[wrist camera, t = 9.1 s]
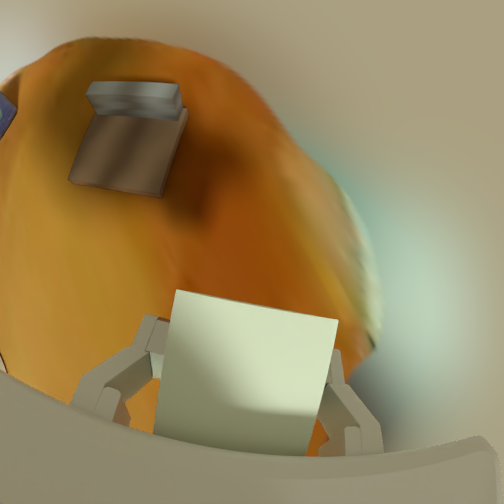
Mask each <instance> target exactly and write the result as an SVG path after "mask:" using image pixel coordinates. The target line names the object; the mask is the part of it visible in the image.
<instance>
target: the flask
mask: <svg viewBox="0 0 504 504" xmlns="http://www.w3.org/2000/svg"><path fill="white" fill-rule="evenodd" d="M16 114H17V108H16V107H15V106H14V105H13V104H12V103H11V102H10V101H9V100H8V98H7V97H5V95H4V94H3V93H2V92H1V91H0V140H1V139H2V137H3V135H4V133H5V132H6V131H7V129H8V127H9V126H10V124H11V122H12V120H13V119H14V118H15V115H16Z"/></svg>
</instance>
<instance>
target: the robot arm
mask: <svg viewBox="0 0 504 504" xmlns="http://www.w3.org/2000/svg"><path fill="white" fill-rule="evenodd" d="M169 325H170V320H169V319H165V318H161V317H158V316H154V315H150V314H146V315H145V316H144V317H143V320H142V322H141V324H140V327H139V329H138V331H137V334H136V336H135V339H134V341H133V343H132V346H131V347H129V346H127V347H125V348H124V349H122V350H121V351H119V352H118V353H116V354H115V355H113V356H112V357H110V358H109V359H107V360H106V361H104V362H103V363H101V364H100V365H98V366H97V367H95V368H94V369H92V370H91V371H89V372H88V373H86V374H85V375H83V376H82V378H81V380H80V382H79V385H78V387H77V389H76V391H75V394H74V396H73V399H72V401H71V403H70V405H69V404H66V403H64V402H62V401H60V400H58V399H55V398H53V397H51V396H49V395H47V394H45V393H43V392H41V391H39V390H37V389H35V388H33V387H31V386H29V385H28V384H26V383H24V382H22V381H20V380H18V379H17V378H15V377H13V376H11V375H10V374H8V373H6V370H5V367H4V364H3V361H2V359H1V357H0V504H503V485H502V475H501V467H500V461H499V458H498V454H497V452H496V451H495V450H494V448H493V447H492V446H491V445H490V444H489V442H488V441H487V440H486V439H485V438H484V437H482V436H473V437H470V438H466V439H462V440H458V441H454V442H450V443H445V444H441V445H436V446H431V447H425V448H420V449H414V450H407V451H400V452H392V453H384V450H383V441H382V434H381V427H380V424H379V423H378V422H377V420H376V419H375V418H374V417H373V415H372V414H371V413H370V412H369V410H368V409H367V408H366V407H365V405H364V404H363V403H362V402H361V400H360V399H359V398H358V397H357V395H356V394H355V393H354V391H353V390H352V389H351V388H350V386H349V385H347V384H345V381H344V374H343V367H342V360H341V353H340V351H339V349H333V351H332V356H331V360H330V365H329V369H328V374H327V378H326V382H325V386H324V390H323V394H322V398H321V402H320V406H319V410H318V414H317V418H318V419H319V421H320V423H321V424H322V426H323V428H324V430H325V431H326V433H327V435H328V436H329V438H330V440H329V441H327V442H326V443H325V444H323V445H322V446H321V447H319V457H307V456H283V455H269V454H258V453H249V452H240V451H233V450H226V449H220V448H214V447H208V446H202V445H197V444H192V443H188V442H183V441H178V440H174V439H170V438H166V437H162V436H158V435H154V434H151V433H147V432H144V431H140V430H137V429H134V428H130V427H129V423H130V420H131V417H130V415H129V413H128V410H127V408H126V406H125V402H126V401H127V400H128V399H130V398H131V397H132V396H133V395H134V394H135V393H137V392H138V391H139V390H140V389H141V388H142V387H143V386H145V385H146V384H147V383H148V382H149V381H150V380H151V379H152V377H154V378H158V379H161V372H162V366H163V360H164V354H165V348H166V342H167V336H168V330H169Z"/></svg>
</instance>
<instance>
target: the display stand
mask: <svg viewBox="0 0 504 504" xmlns="http://www.w3.org/2000/svg"><path fill="white" fill-rule="evenodd" d="M85 95H86V97H87V99H88V100H89V102H90V103H91V105H92V107H93V108H94V110H95V111H96V113H95V115H94V117H93V119H92V121H91V123H90V125H89V127H88V130H87V132H86V134H85V136H84V139H83V141H82V143H81V146H80V148H79V151H78V153H77V156H76V158H75V161H74V163H73V166H72V168H71V171H70V174H69V177H68V180H69V181H70V182H71V183H73V184H78V185H85V186H91V187H98V188H104V189H110V190H116V191H123V192H128V193H134V194H140V195H146V196H152V197H157V198H162V196H163V192H164V189H165V185H166V182H167V179H168V176H169V172H170V169H171V166H172V163H173V160H174V156H175V153H176V150H177V147H178V144H179V141H180V138H181V136H182V133H183V130H184V127H185V124H186V121H187V119H188V116H189V115H188V109H187V108H183V104H182V99H181V94H180V89H179V84H170V83H156V82H134V81H92V83H91V84H90V86H89V88H88V90H87V92H86V93H85Z"/></svg>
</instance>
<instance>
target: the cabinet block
mask: <svg viewBox="0 0 504 504" xmlns="http://www.w3.org/2000/svg"><path fill="white" fill-rule="evenodd" d="M338 321H339V320H336V319H330V318H325V317H319V316H314V315H308V314H303V313H298V312H293V311H288V310H282V309H277V308H272V307H267V306H261V305H256V304H251V303H246V302H240V301H235V300H230V299H225V298H221V297H216V296H211V295H206V294H201V293H195V292H189V291H183V290H177V289H176V294H175V299H174V304H173V309H172V314H171V319H170V325H169V330H168V336H167V342H166V348H165V354H164V360H163V366H162V372H161V379H160V386H159V393H158V400H157V408H156V415H155V424H154V432H153V434H154V435H158V436H162V437H166V438H170V439H174V440H178V441H183V442H188V443H192V444H197V445H202V446H208V447H214V448H220V449H226V450H233V451H240V452H249V453H258V454H269V455H283V456H305V455H306V452H307V448H308V445H309V442H310V438H311V435H312V432H313V428H314V424H315V421H316V417H317V414H318V410H319V406H320V402H321V398H322V394H323V390H324V386H325V382H326V378H327V374H328V369H329V365H330V360H331V356H332V351H333V346H334V341H335V336H336V331H337V326H338Z"/></svg>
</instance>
